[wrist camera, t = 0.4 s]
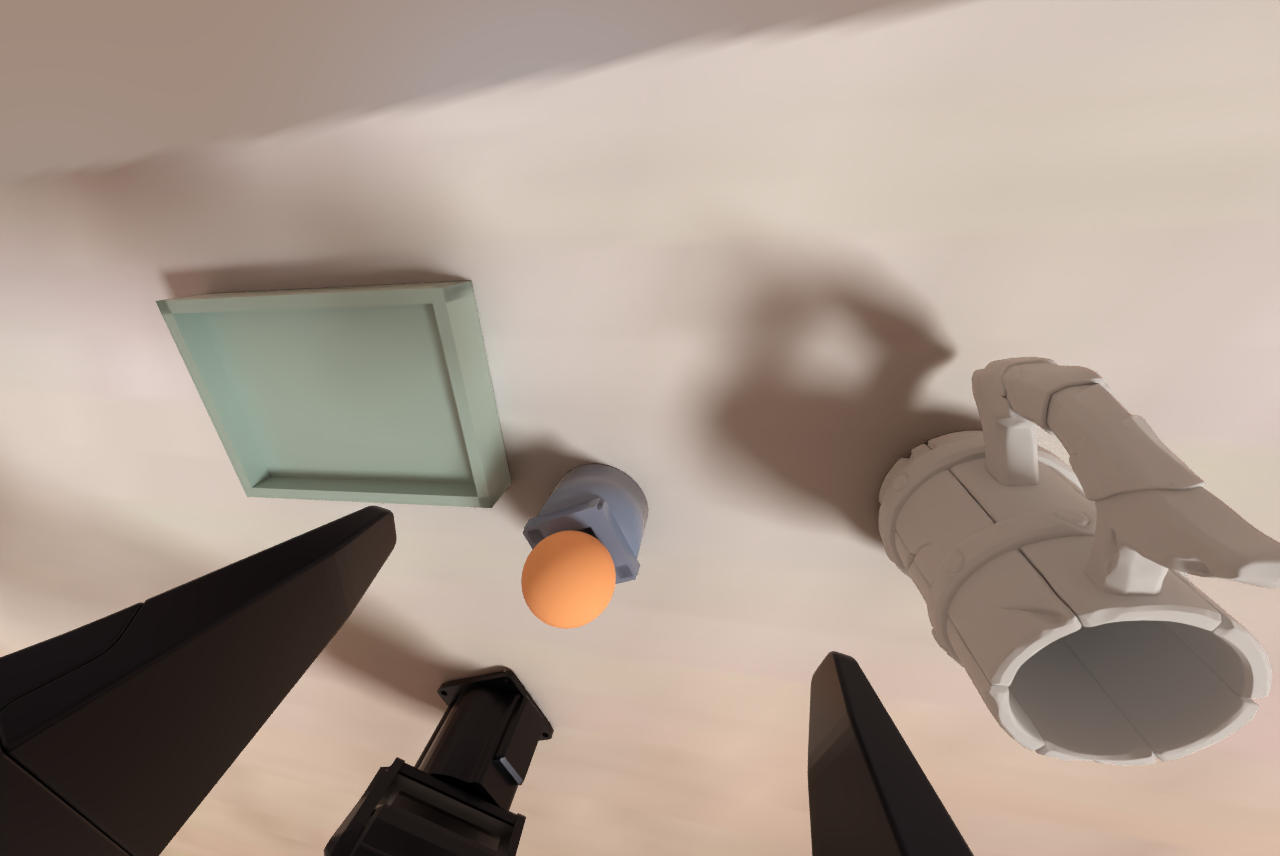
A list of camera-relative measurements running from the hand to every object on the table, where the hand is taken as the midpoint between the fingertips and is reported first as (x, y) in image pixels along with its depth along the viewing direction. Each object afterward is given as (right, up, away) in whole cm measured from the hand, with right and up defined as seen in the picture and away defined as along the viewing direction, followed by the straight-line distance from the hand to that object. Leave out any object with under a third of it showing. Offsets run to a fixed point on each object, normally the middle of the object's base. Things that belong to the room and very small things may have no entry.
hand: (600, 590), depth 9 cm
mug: (+15, +2, +12) cm, 19 cm away
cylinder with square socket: (-1, -1, +16) cm, 16 cm away
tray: (-14, +5, +15) cm, 21 cm away
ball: (-2, -3, +11) cm, 12 cm away
